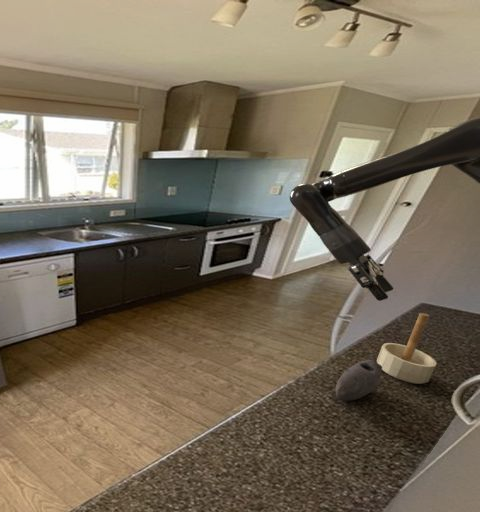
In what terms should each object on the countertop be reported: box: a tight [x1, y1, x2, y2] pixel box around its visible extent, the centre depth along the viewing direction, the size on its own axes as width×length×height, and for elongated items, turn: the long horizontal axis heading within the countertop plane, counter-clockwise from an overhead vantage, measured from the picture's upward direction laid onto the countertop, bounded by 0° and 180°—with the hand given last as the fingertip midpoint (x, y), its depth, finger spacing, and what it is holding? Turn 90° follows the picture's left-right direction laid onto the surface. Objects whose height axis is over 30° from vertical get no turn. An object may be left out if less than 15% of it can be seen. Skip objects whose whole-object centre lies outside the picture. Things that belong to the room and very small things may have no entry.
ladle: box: [401, 312, 430, 362], centre depth 72 cm, size 4×2×16 cm, turn 125°
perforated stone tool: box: [335, 359, 383, 402], centre depth 67 cm, size 15×5×7 cm, turn 114°
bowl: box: [376, 342, 438, 385], centre depth 74 cm, size 10×10×6 cm
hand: (386, 294), depth 74 cm, fingers open, 8 cm apart
